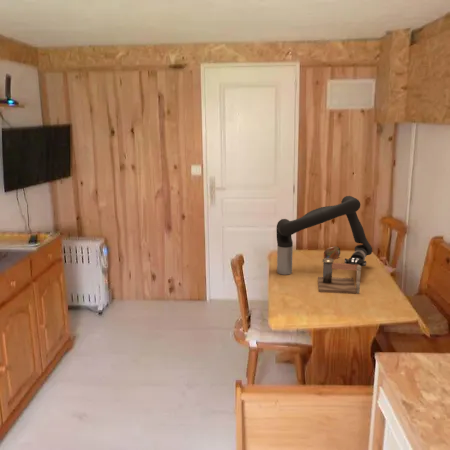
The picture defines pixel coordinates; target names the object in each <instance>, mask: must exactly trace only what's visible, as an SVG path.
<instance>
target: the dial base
mask: <svg viewBox="0 0 450 450" xmlns="http://www.w3.org/2000/svg"><path fill="white" fill-rule="evenodd" d="M356 268H357V271H356V277H355V278H356V281H354V278H352V277H333V276H332V282H331V283H324V282H323V276H317V285H318V288H317V289H318V292H319V293H333V294H334V293H335V294H350V295H351V294H354V295H355V294H360V288H361V287H360V286H361V272H362V266H360V265H358V266H357V267H356Z"/></svg>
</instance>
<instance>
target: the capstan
mask: <svg viewBox="0 0 450 450" xmlns="http://www.w3.org/2000/svg"><path fill="white" fill-rule="evenodd" d="M334 261H335V259H334V260H333V259H331V258H324V257H323V259H322V262H323V264H322V265H323V266H322V267H323V268H322V269H323V270H322V277H323V282H324V283H331V282H332V277H333V270H344V271H346V270H347V271H356V272H357V268H356V267H357V266H358V265H359V264H346V263H343V262H342V263H341V262H334Z"/></svg>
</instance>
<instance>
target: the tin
mask: <svg viewBox="0 0 450 450" xmlns="http://www.w3.org/2000/svg"><path fill="white" fill-rule="evenodd" d="M340 255H341V248H340V247H339V246H336V245H334V246H332V247H327V248H325V250H324V251H323V259H324V258H331V259H333V260H334V261H335V260H337V259H338V258H339V257H340Z"/></svg>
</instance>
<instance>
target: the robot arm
mask: <svg viewBox="0 0 450 450" xmlns="http://www.w3.org/2000/svg"><path fill="white" fill-rule="evenodd" d="M359 209H361V201H360V200H359V199H358V198H355V197H354V196H351V195H346V196H344V197H343V198H342V199H341V203H338V204H335V205H328V206H327V205H326V206H320V207H318V208H315V209H313V210H310V211H308V212H306V214H304V215H302V216H301V217H300V218H295V219H293V220H289V219H287V218H281V219H280V220H278V222H277V223H276V244H277V246H276V247H277V249H276V250H277V253H276V254H277V257H276V263H277V264H276V273H277V274H279V275H285V276H287V275H291V274H293V254H294V253H293V248H294V247H293V246H294V245H293V243H294V242H293V239H292V238H293V237H292V235H294V234H296V233H299V232H301V231H303V230H306V229H309V228H311V227H315V226H317V225H321V224H324V223H327V222H328V221H332V220H334V219H336V218H339V217H341V216H346V218H347V221H348V224H349V227H350V231H351V233H352V236H353V240H354V242H355V243H357V245H355V246H354V252H353V253H352V255H351V256H350V258H344V263H345V264H359V265H360V266H361V267H365V266H367V260H365V259H366V258H367V256H370V255H372V253H373V247H372V245H371V244H370V243H369V242H370V241H368V239H367V236H366V233H365V229H364V227H363V224H362V223H361V221H360V219H359V217H358V215H357V212H358V211H359Z"/></svg>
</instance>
